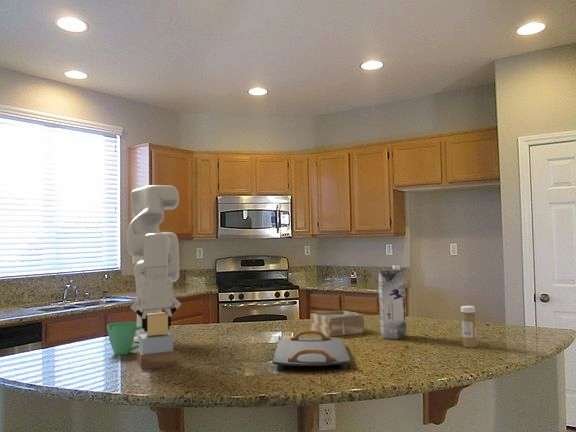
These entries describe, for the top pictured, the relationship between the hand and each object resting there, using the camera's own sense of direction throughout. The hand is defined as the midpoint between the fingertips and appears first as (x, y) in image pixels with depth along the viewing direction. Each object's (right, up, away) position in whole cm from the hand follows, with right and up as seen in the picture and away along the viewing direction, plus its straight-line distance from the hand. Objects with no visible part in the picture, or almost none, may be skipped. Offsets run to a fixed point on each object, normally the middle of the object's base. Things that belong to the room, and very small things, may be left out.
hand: (156, 329), depth 151 cm
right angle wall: (+62, -12, +46) cm, 78 cm away
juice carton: (+82, -10, +31) cm, 88 cm away
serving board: (+49, -10, +2) cm, 50 cm away
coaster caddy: (+61, -12, +46) cm, 78 cm away
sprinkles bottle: (+103, -9, +11) cm, 104 cm away
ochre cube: (0, -1, 0) cm, 1 cm away
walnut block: (0, -11, -1) cm, 11 cm away
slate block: (0, -6, -1) cm, 6 cm away
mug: (-14, -12, +16) cm, 24 cm away
